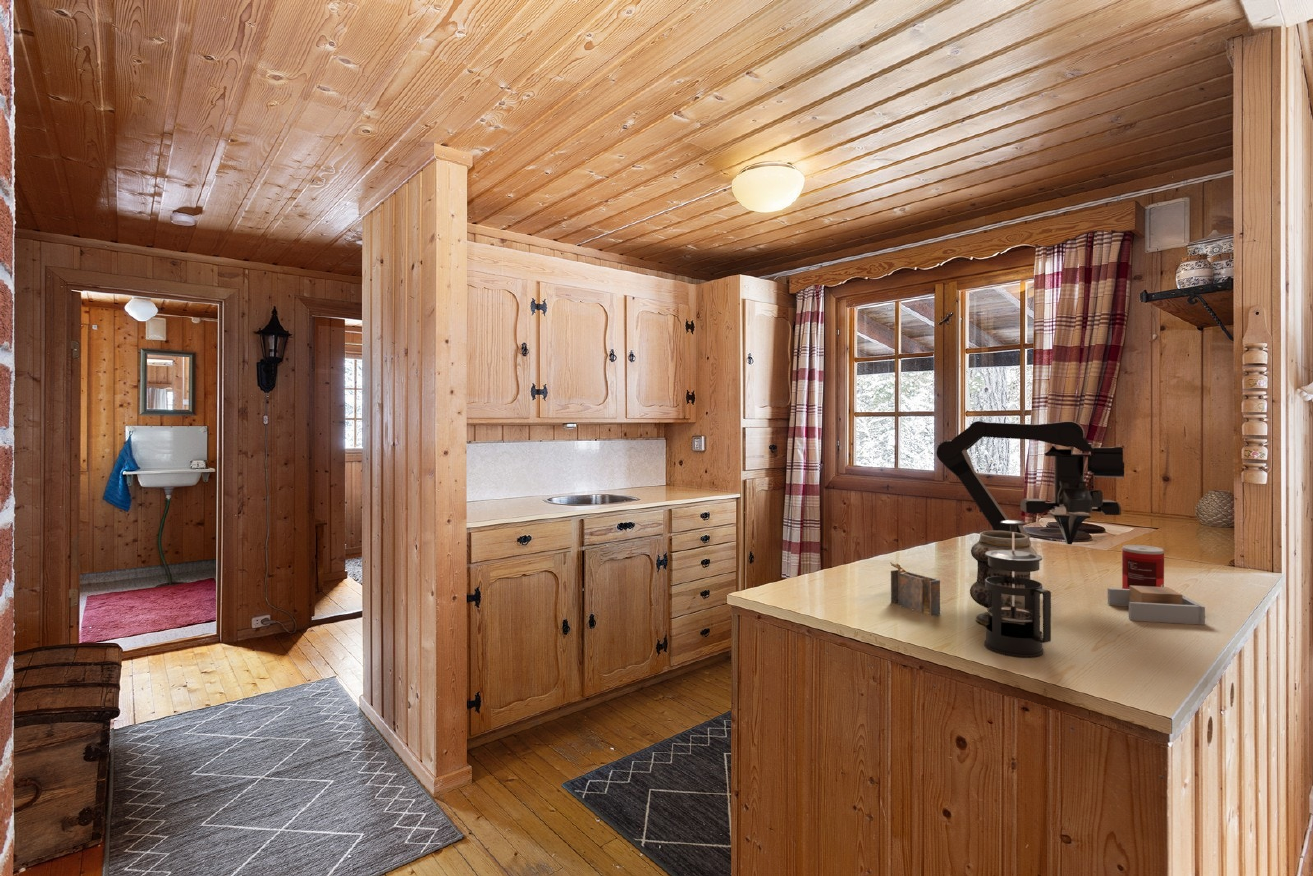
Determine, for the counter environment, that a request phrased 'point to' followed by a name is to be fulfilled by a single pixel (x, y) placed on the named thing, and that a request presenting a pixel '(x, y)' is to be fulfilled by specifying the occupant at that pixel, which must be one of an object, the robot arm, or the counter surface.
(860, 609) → the counter surface
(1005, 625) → the french press
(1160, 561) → the canned food
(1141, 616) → the dock
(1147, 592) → the brown toy brick
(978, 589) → the apothecary jar
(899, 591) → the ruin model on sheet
